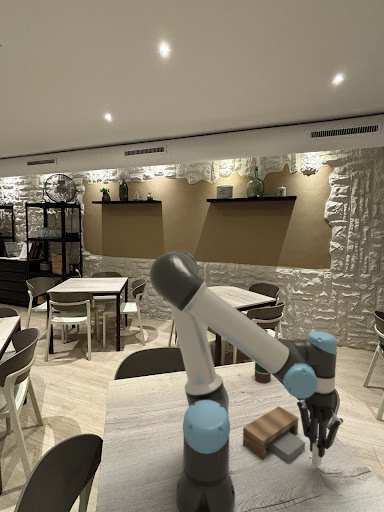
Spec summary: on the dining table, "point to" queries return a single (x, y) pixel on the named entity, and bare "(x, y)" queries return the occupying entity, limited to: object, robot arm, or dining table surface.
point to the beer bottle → (262, 372)
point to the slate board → (286, 446)
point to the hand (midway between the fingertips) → (316, 464)
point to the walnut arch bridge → (268, 429)
